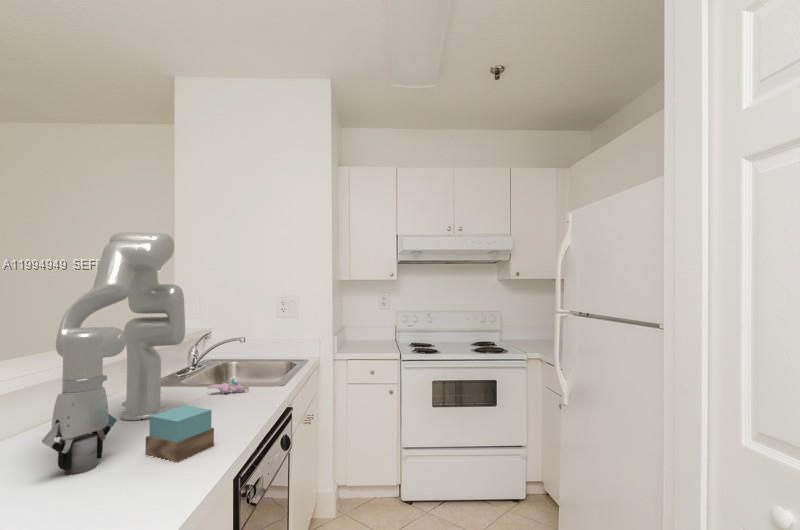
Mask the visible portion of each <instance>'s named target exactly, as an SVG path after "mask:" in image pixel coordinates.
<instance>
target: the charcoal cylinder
mask: <svg viewBox="0 0 800 530" xmlns="http://www.w3.org/2000/svg"><path fill="white" fill-rule="evenodd" d="M69 451H70V452H71V469H70V470H68V471H66V470H64V471H63V472H64V474H65V475H68V476H69V475H70V476H71V475H74V476H75V475H79V474H83V473H84V474H85V473H88V472H90V471H92V470H94V469H96V467H97V466H98V459H97V434H92V433H89V434H85V435H82V436H79V437H76V438H73V441H72V443H71V446H70V448H69Z"/></svg>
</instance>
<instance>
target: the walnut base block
mask: <svg viewBox="0 0 800 530" xmlns="http://www.w3.org/2000/svg"><path fill="white" fill-rule="evenodd" d="M214 441H215V428H214V427H211V429H210V430H208V431H205V432H203V433H200V434H198V435H195V436H193V437H190V438H187V439H185V440H182V441H180V442H177V443H176V442H172V441H168V440H163V439H159V438H154V437H150V436H149V435H148V436H145V453H144V454H145V455H148V456H153V457H157V458H161V459H160V460H162V459H165V460H164V461H166V460H169V461H168V462H171V461H173V462H172V463H176V462H177V464H179V463H181V462H183V461H185V460H187V459H189V458H190V457H191V458H192V457H193V456H196V455H197V453H198V454H199V452H200V453H202V452H204V451H206V450H209V449H211V448H213V447H214V446H215V443H214ZM195 454H196V455H195ZM148 456H147V457H148ZM153 457H152V458H153ZM188 457H189V458H188ZM157 458H156V459H157ZM184 459H185V460H184ZM182 460H183V461H182ZM180 461H181V462H180Z"/></svg>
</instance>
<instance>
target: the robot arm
mask: <svg viewBox="0 0 800 530" xmlns="http://www.w3.org/2000/svg"><path fill="white" fill-rule="evenodd" d="M108 241H109V243H107V244H106V245H105V246H104V249H103V251H102V252H101V256H100V261H99V265H98V268H97V271H96V275H95V279H94V282H93V286H92V288H91V289H90V290H89V291H88V292H86V293H84V294H83V295H82V296H80V297H79V298H78V299H77V300H76V301H74V303H72V304H71V305H70V307H69V308H68V309H67V310H66V312H64V315H63V316H62V319H61V321H60V325H59V329H58V331H57V335H56V339H55V350H56V352H57V354H58V355H59V356H60V357H61V358H62V380H61V381H62V382H61V383H62V384H61V385H62V386H61V388H62V389H61V393H58V394H57V396H56V399H55V403H54V407H53V412H52V419H51V429H50V431H48V433H47V434H46V435H45V436H44V437H43V438H42V440H41V443H42V444H43V445H46V446H48V447H49V448H51V450H54V451H55V452H57V465H58V468H59V469H60V470H66V471H68V470H70V469H71V452H70V451H69V448H70V446H71V443H72V441H73V438H76V437H79V436H82V435H85V434H90V433H92V434H97V460H100V459H102V456H103V454H102V453H103V451H104V450H103V449H104V441H105V440H106V437H107V435H108V433H109V432H110V431H111V428H112V427H113V426H114V425H115V424H116V422H117V418H115V417H113V416H112V415H111V414H109V405H108V404H109V403H108V396H107V392H106V387H104V386H103V385H104V382H105V381H106V382H107V380H108V376H107V375H104V374H103V363H104V362H103V361H104V360H103V359H104V358H113V357H116V356H118V355H120V354H121V353H122V352H123V351H124V350H125V349H126V400H125V401H123V402H121V403H120V406H121V407H124V411H123V412H121V413H120V415H119V417H120V419H121V420H123V421H124V420H125V421H142V420H141V419H143V420H147V419H150V416H152V415H155V414H158V413H162V412H165V411H167V410H166V407H165V406H163V405H161V386H162V385H161V383H162V381H161V380H162V373H161V372H162V358H161V356H160V354H159V352H158V351H157V350H156V349H155V348H154V347H161V346H162V347H165V346H177V345H181V344H182V343H183V341H184V339H185V336H186V319H185V318H186V316H185V315H186V313H185V311H186V309H185V296H184V291H183V289H182V288H181V287H180V285H177V284H163V283H162V284H160V283H159V278H158V276H159V275H158V270H159V269H161V267H163V266H164V265H165V264H166V263H167V262H169V260H171V258H172V257H173V255H174V252H175V242H174V239H173V238H172V236H171V235H170V234H167V233H161V232H120V233H119V232H118V233H114V234H113V235H111V236H110V238H109V240H108ZM126 299H127V302H128V303H127V304H128V307H129V310H130V311H131V312H132V313H135V314H140V315H141V314H143V315H144V314H145V315H146V314H148V315H149V314H151V315H152V314H164V315H166V316H141V317H134V318H132V319H130V320H128V321H127V322H126V323H125V325H124V327H123V328H124V329H121V328H120V327H114V326H113V327H111V326H104V327H103V326H101V327H98V326H97V327H94V326H93V327H81V326H82V325H83V323H84V321H85V320H86V319H88V318H89V316H91V315H92V314H94V313H96V312H98V311H100V310H102V309H105V308H107V307H109V306H112V305H114V304H117V303H119V302H122V301H124V300H126ZM56 438H58V442H57V441H56V440H55V439H56Z"/></svg>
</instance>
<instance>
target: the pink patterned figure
mask: <svg viewBox="0 0 800 530" xmlns="http://www.w3.org/2000/svg"><path fill="white" fill-rule="evenodd" d="M235 380H236V378H232V379H231V380H230V383H231V384H232V385H236V386H233V387H231V385H230V384H229V383H226V382H224V383H221V384H211V385H209V386H208V387H207V390H208V389H217V390H219V393H224V394H225V393H226V395H227V393H228V394H229V393H230V391H232V392H234V393H236V392H237V393H240V394H243V393H245V391H246V390H247V392H249V390H250V389H249V388H250V387H249V385H248V386H247V385H244V386H243V385H241V384H239V383H238V381H235Z"/></svg>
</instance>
